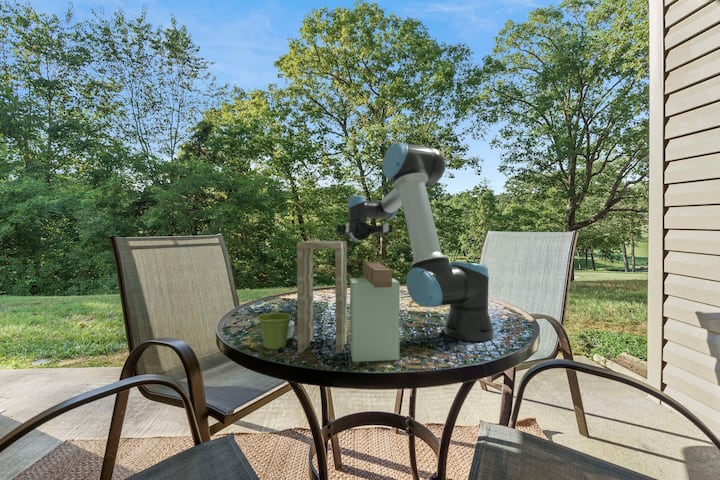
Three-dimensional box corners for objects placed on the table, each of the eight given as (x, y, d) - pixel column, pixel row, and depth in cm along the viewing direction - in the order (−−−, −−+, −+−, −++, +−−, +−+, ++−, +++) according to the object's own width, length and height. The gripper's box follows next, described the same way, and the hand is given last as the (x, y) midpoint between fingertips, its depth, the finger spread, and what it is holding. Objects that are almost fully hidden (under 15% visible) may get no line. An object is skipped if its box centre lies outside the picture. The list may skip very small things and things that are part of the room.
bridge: (308, 336, 111) (308, 241, 110) (346, 337, 110) (346, 241, 109) (297, 352, 97) (297, 242, 96) (341, 353, 96) (340, 242, 95)
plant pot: (294, 341, 107) (294, 312, 106) (289, 351, 97) (288, 320, 97) (262, 341, 106) (262, 312, 106) (254, 352, 97) (254, 320, 97)
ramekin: (299, 336, 111) (299, 323, 111) (274, 342, 105) (274, 328, 105) (285, 331, 118) (285, 318, 118) (260, 336, 112) (260, 322, 112)
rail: (362, 274, 106) (362, 261, 106) (376, 274, 106) (376, 261, 106) (374, 287, 82) (374, 270, 82) (392, 287, 82) (391, 270, 82)
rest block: (393, 349, 99) (393, 278, 98) (399, 359, 91) (399, 282, 90) (350, 351, 98) (350, 278, 97) (352, 361, 90) (352, 283, 89)
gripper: (391, 240, 143) (403, 237, 122) (329, 240, 140) (331, 238, 119) (391, 221, 143) (403, 216, 122) (329, 221, 140) (331, 215, 119)
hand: (367, 226), depth 120 cm, fingers open, 13 cm apart
